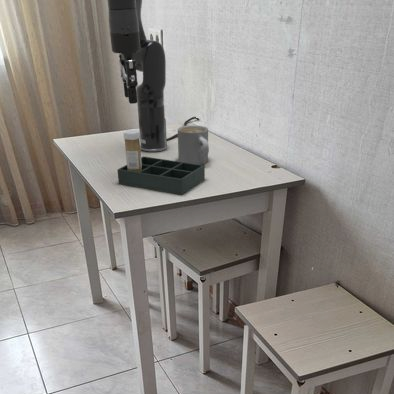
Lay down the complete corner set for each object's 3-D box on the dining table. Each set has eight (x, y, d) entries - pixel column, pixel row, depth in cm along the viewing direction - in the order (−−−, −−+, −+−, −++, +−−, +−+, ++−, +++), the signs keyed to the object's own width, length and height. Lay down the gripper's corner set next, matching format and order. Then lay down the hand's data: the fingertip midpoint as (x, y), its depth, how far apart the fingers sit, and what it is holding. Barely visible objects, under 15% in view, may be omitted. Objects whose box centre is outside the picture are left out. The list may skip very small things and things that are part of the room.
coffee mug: (174, 158, 164) (173, 126, 158) (201, 155, 167) (201, 124, 160) (187, 169, 154) (187, 136, 148) (216, 166, 157) (216, 133, 151)
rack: (144, 170, 154) (143, 156, 151) (204, 179, 146) (204, 165, 143) (118, 184, 144) (117, 169, 141) (182, 195, 136) (181, 179, 133)
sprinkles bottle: (145, 177, 145) (142, 129, 137) (138, 181, 142) (134, 133, 134) (132, 175, 147) (128, 128, 138) (124, 179, 143) (120, 131, 135)
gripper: (106, 28, 128) (114, 96, 138) (112, 33, 117) (120, 106, 127) (134, 27, 129) (140, 94, 139) (143, 32, 118) (148, 104, 128)
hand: (131, 100), depth 133 cm, fingers open, 8 cm apart
